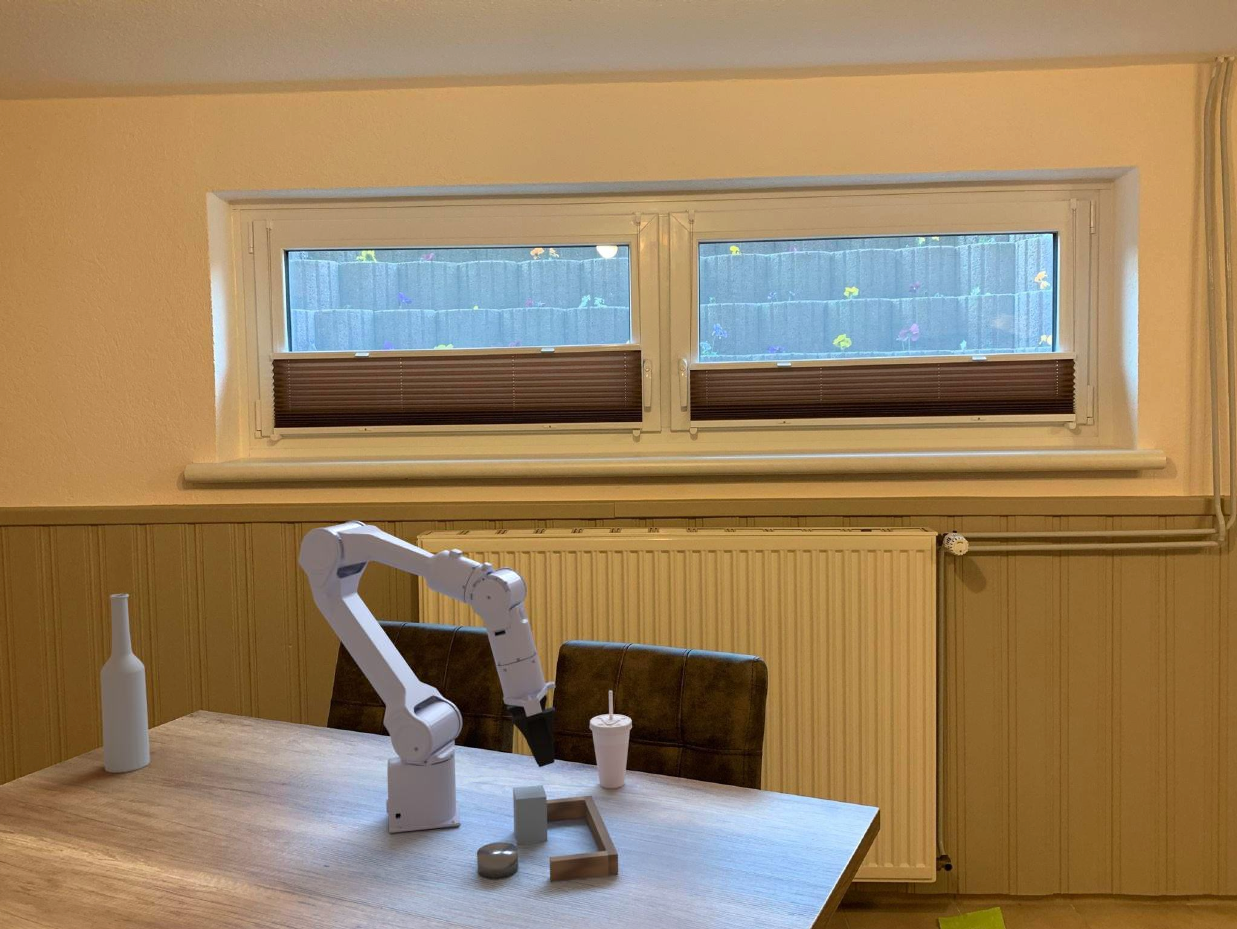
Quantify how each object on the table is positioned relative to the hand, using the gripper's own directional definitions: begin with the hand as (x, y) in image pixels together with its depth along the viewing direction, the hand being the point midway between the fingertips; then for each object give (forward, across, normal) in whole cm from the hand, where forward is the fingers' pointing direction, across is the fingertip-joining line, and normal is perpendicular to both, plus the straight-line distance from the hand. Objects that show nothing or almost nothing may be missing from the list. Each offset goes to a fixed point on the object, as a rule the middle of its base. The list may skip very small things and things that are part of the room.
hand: (543, 757), depth 130 cm
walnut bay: (+11, -3, 0) cm, 12 cm away
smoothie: (+11, +16, -10) cm, 21 cm away
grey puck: (+10, -8, +9) cm, 16 cm away
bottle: (-9, +42, +63) cm, 76 cm away
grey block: (+10, +1, +4) cm, 10 cm away
